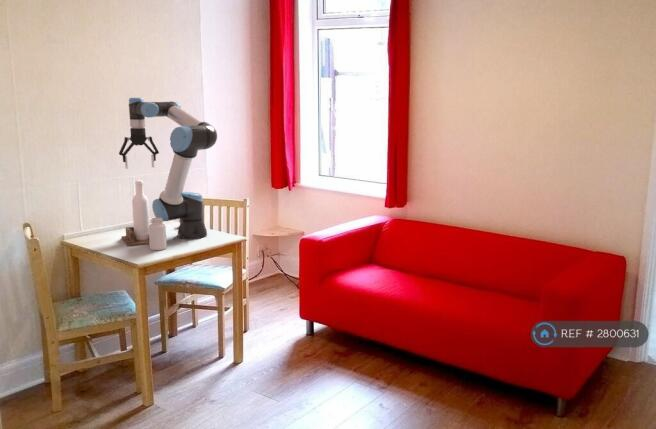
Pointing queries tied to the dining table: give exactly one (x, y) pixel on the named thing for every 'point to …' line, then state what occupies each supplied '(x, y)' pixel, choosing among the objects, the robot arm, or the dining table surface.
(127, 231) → the bottle rest
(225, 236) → the dining table surface
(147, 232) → the bottle
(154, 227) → the pill bottle
